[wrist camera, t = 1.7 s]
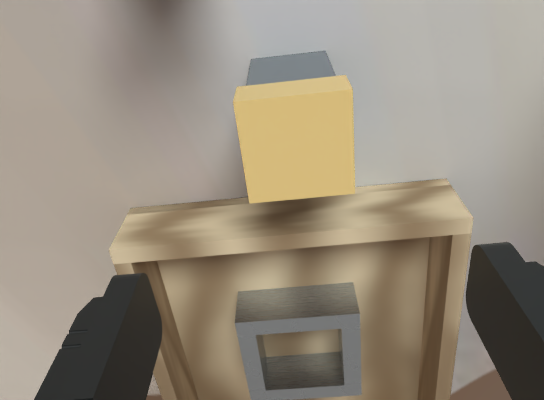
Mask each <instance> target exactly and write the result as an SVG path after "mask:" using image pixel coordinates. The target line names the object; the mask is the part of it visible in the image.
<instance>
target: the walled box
mask: <svg viewBox="0 0 544 400" xmlns="http://www.w3.org/2000/svg"><path fill="white" fill-rule="evenodd" d="M472 225H473V217H472V215H471V214H470V212H469V211H468V209H467V208H466V207H465V205H464V204H463V202H462V201H461V199H460V198H459V196H458V195H457V193H456V192H455V191H454V189H453V188H452V186H451V185H450V183H449V182H448V180H447V179H437V180H426V181H416V182H405V183H394V184H384V185H373V186H363V187H355V194H347V195H336V196H325V197H315V198H304V199H293V200H283V201H272V202H261V203H250V204H249V199H248V197H245V198H235V199H224V200H214V201H203V202H192V203H182V204H171V205H160V206H150V207H139V208H131V209H130V210H129V212H128V214H127V216H126V218H125V220H124V222H123V224H122V226H121V228H120V230H119V231H118V233H117V235H116V237H115V239H114V241H113V243H112V245H111V247H110V249H109V252H110V255H111V258H112V261H113V264H114V266H115V269H116V272H117V275H124V274H136V273H145V274H147V276H148V278H149V281H150V284H151V287H152V290H153V293H154V297H155V300H156V303H157V306H158V309H159V312H160V316H161V320H162V341H161V345H160V349H159V352H158V356H157V360H156V364H155V367H154V371H153V374H154V377H155V379H156V382H157V385H158V388H159V390H160V393H161V396H162V399H163V400H251V398H250V393H249V389H248V384H247V379H246V375H245V370H244V365H243V360H242V356H241V351H240V346H239V341H238V337H237V332H236V327H235V315H236V306H237V296H238V291H250V290H262V289H274V288H287V287H299V286H311V285H324V284H336V283H348V282H353V284H354V288H355V293H356V298H357V302H358V307H359V311H360V337H361V386H362V395H356V396H341V397H325V398H310V399H295V400H450V394H451V386H452V378H453V371H454V363H455V355H456V348H457V340H458V332H459V325H460V317H461V309H462V302H463V294H464V286H465V279H466V271H467V263H468V256H469V248H470V240H471V233H472ZM263 339H264V345H265V351H266V357H273V356H287V355H301V354H314V353H328V352H339V337H338V329H329V330H316V331H303V332H289V333H276V334H263Z"/></svg>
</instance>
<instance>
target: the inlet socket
mask: <svg viewBox="0 0 544 400" xmlns="http://www.w3.org/2000/svg"><path fill="white" fill-rule="evenodd" d="M235 327H236V332H237V337H238V341H239V346H240V351H241V356H242V360H243V365H244V370H245V375H246V379H247V384H248V389H249V393H250V398H251V400H295V399H310V398H325V397H341V396H356V395H362V386H361V337H360V311H359V307H358V302H357V298H356V293H355V288H354V284H353V282H348V283H336V284H324V285H311V286H299V287H287V288H274V289H262V290H250V291H238V296H237V306H236V315H235ZM329 329H338V337H339V352H328V353H314V354H301V355H287V356H273V357H266V351H265V345H264V339H263V334H276V333H289V332H303V331H316V330H329Z"/></svg>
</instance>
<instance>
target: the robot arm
mask: <svg viewBox="0 0 544 400" xmlns="http://www.w3.org/2000/svg"><path fill="white" fill-rule="evenodd" d="M466 304H467V309H468V313H469V316H470V318H471V321H472V323H473V325H474V326H475V328H476V330H477V332H478V334H479V336H480V338H481V340H482V342H483V344H484V346H485V348H486V350H487V352H488V354H489V356H490V358H491V360H492V362H493V363H494V365H495V367H496V369H497V371H498V373H499V375H500V377H501V379H502V381H503V383H504V385H505V387H506V389H507V391H508V392H509V394H510V397H511V399H512V400H544V267H543V266H542V265H540V264H539V263H537V262H525V261H524V260H523V258H522V257H521V256H520V254H519V253H518V252H517V250H516V249H515V248H514V246H513V245H512V244H510V243H508V242H504V243H493V244H481V245H475V246H474V247H473V249H472V253H471V261H470V268H469V275H468V282H467V290H466ZM161 341H162V320H161V316H160V312H159V309H158V306H157V303H156V300H155V297H154V293H153V290H152V287H151V284H150V281H149V278H148V276H147V274H145V273H136V274H124V275H115V276H113V277H112V279H111V281H110V283H109V285H108V287H107V289H106V292H105V294H104V296H103V297H96V298H93V299H92V300H91V301H90V302H89V303H88V304H87V305H86V306H85V307H84V308H83V309H82V310H81V311H80V312H79V313H78V314H77V316H76V318H75V320H74V322H73V324H72V326H71V328H70V330H69V334H67V336H66V338H65V340H64V342H63V344H62V349H60V350H59V352H58V354H57V356H56V357H55V359H54V361H53V363H52V365H51V367H50V369H49V371H48V373H47V375H46V377H45V379H44V381H43V383H42V385H41V387H40V389H39V391H38V393H37V395H36V397H35V399H34V400H146V397H147V393H148V389H149V386H150V382H151V378H152V375H153V371H154V367H155V364H156V360H157V356H158V352H159V349H160V345H161Z"/></svg>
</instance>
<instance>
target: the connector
mask: <svg viewBox="0 0 544 400" xmlns="http://www.w3.org/2000/svg"><path fill="white" fill-rule="evenodd" d="M233 105H234V111H235V117H236V124H237V130H238V136H239V142H240V149H241V155H242V161H243V167H244V174H245V180H246V186H247V192H248V199H249V204H250V203H261V202H272V201H283V200H293V199H304V198H315V197H325V196H336V195H347V194H355V167H354V124H353V89H352V87H351V85H350V83H349V81H348V79H347V76H346V75H340V76H336V75H335V72H334V70H333V68H332V65H331V63H330V60H329V58H328V56H327V53H326V51H318V52H309V53H301V54H292V55H283V56H274V57H265V58H256V59H251V63H250V68H249V74H248V79H247V84H246V86H240V87H237V88H236V92H235V96H234V100H233Z"/></svg>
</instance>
